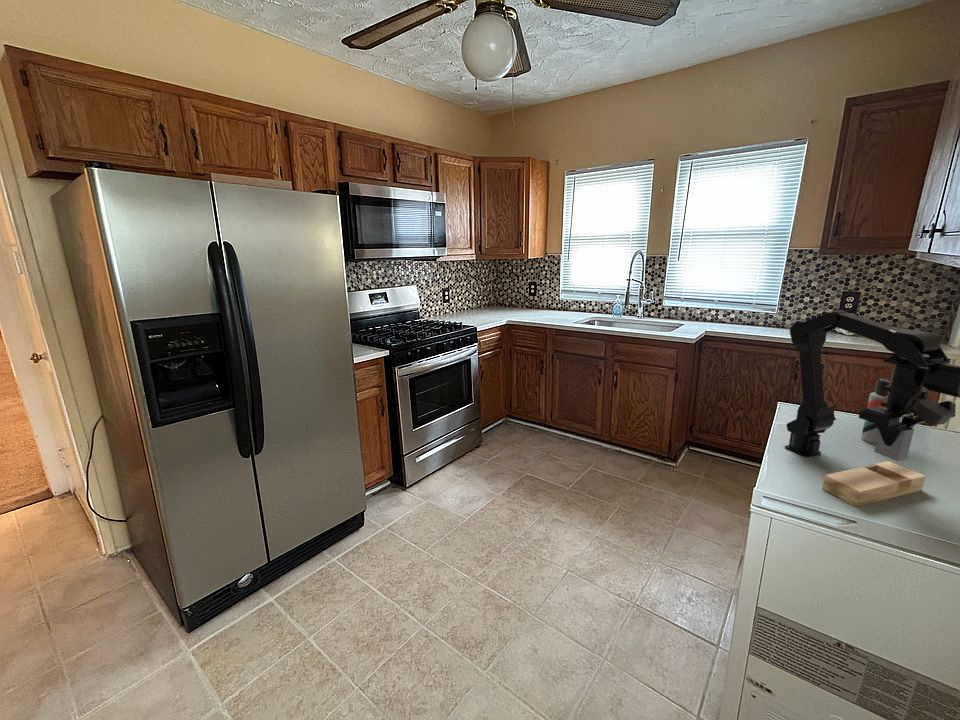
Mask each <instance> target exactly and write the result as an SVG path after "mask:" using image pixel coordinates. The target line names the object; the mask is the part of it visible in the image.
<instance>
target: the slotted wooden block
mask: <svg viewBox="0 0 960 720" xmlns="http://www.w3.org/2000/svg"><path fill="white" fill-rule="evenodd" d="M926 478H927V477H926V475H925V474H921V473H920V472H917V471H914V470H912V469H909V468H906V467H904V466H901V465H899V464H896V463H894V462H891V461H889V460H887V461H882V462H877V463H874V464H869V465H863V466H859V467H855V468H851V469H845V470H842V471H838V472H832V473H828V474H825V475H824V478H823V483H822V486H821V487H822V488H821V489H822V490H823V491H825V492H826V493H829V494H831V495H833V496H835V497H837V498H839V499H841V500H843V501H845V502H847V503H849V504H850V505H852V506H854V507H856V508H857V507H861V506H865V505H869V504H874V503H877V502H882V501H884V500H889V499H893V498H896V497H900V496H906V495H907V494H912V493H913V494H914V493H918V492H920V491H922V490H923V487H924V484H925V480H926Z"/></svg>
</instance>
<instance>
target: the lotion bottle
mask: <svg viewBox="0 0 960 720" xmlns="http://www.w3.org/2000/svg"><path fill="white" fill-rule="evenodd" d="M890 382H891V379H888V378H887V379H886V378H879V379H877V381H876V385H875V390H874V392H870V394H869V398H868V402H867V406H866V408H867V407H873V406H876V407H880V408H883V409H886V407H883V406H880V405H881V402H884V401H886V399H887V395H888V391H885V390H884V388H885V386H889V385H890ZM886 410H888V409H886ZM861 430H862V431H861V436H860V439H861V440H862V441H864V442H867V443H869V444H875V445H876V443H877V438H878V434H879V429H878V427H877V425H876V424H875V423H872V422H869V421H866V420H864V421H863V426H862V429H861Z"/></svg>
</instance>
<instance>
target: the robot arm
mask: <svg viewBox="0 0 960 720" xmlns="http://www.w3.org/2000/svg"><path fill="white" fill-rule="evenodd" d="M837 328H838V329H841V330H843V331H846V332H849V333H852V334H854V335H857V336H860V337H863V338H866V339H868V340H871V341H874V342H877V343H879V344H881V345H882V346H883V347H884V348H885V349H886V350H887V351H889V352H891V353H893V354H892V356H890V357H889V356H888V357H887V358H885V359H883V362H884V363H887V364H892V365H894V366H893V370H892V374H891V379H890V380H891V382H890V385H889V386H885V388H884V390H885V391H888V395H887V399H886V401H884V402H881V405H880V406H883V407H886V409H888V410H886V409H883V408H880V407H876V406H873V407H867V406H866V407H864V408H861V409H860V410H859V413H858V418H859V419H861V420H866V421H869V422H872V423H875V424H876V425H877V427H878V429H879V432H880V434H881V436H882V439H883V441H884V444H885V445H887V446H891V445H892V443H893V441H894V438H895V436H896V433H897V431H898V429H899V428H900V427H903V426H906V427H909V428H913V429H914V427H915V426H917V425H918V424H923V423H926V424H928V425H929V426H933V427H937V426H939V425H945V424H946V423H947V422H948V421H949V420H950V419H951V418H955V417H956V413H957V411H956V403H954V402H952V401H951V400H944V401H941V402H939V401H938V400H932V399H930V398H929V395H930V393H929V391H931V392H934V393H937V394H943V395H947V396H950V397H954V398H955V397H956V398H959V399H960V365H957V364H952V363H951V361H950V359H949V357H948V356H947V354H946V353H945V352H944V350H943V348H942V347H941V341H940V340H939V337H938V335H936V334H935V333H933V332H931V331H930V332H928V331H922V330H919V329H909V328H899V327H893V326H890V325H887V324H884V323H881V322H878V321H875V320H872V319H869V318H866V317H863V316H860V315H856V314H854V313H850V312H848V311H846V310H842V309H840V310H831V311H828V312H826V313H824V314H822V315H819V316H816V317H814V318H810V319H807V320H802V321H796V322H794V323H793V324H792V325H791V326H790V328H789V335H790V340H791V343H792V345H793V346H794V347H795V348H796V350H797V351H798V354H799V355H798V357H799V369H800V371H799V372H800V381H801V384H800V385H801V393H802V394H801V395H802V397H801V398H802V400H801V402H800V405H799V407H798V408H797V410H796V411H797V412H796V418H795V419H794V420H791V421H790V422H788V423H786V429H787V431H788V432H790V438H789V442H788V445H784V448H785V449H787V450H789V451H791V452H794V453H795V454H798V455H801V456H802V457H805V458H806V457H809V456H815V455H820V454H821V453H822V452H821V451H820V446H821V440H820V437H821V434H823V433H824V434H825V432H826V430H828V429H830V428H831V427H832V426H834V421H836V420H837V419H836V417H835V409H836V408H835V406H834V405H830V406H829V405H828V403H827V402H826V400H825V397H824V382H823V369H822V355H821V351H822V348H823V346H824V345H825V342H826V340H827V333H829V332H832V331H834V330H836V329H837ZM924 357H926V358H924ZM924 388H926V389H927V390H925V389H924Z"/></svg>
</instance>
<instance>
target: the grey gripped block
mask: <svg viewBox="0 0 960 720" xmlns="http://www.w3.org/2000/svg"><path fill="white" fill-rule="evenodd" d="M914 431H915V428H914V427H913V428H909V427H906V426H903V427H900V428H899V429H898V431H897V433H896V436H895V438H894V441H893V443H892V445H891V446H887V445H885V444H884V441H883V439H882V436H881V434H880V432H879V434H878V438H877V443H876V444H875V447H874V453H876V454H879V455H881V456H883V457H886V458H889V459H892V460H893V461H897V462H901V461H905V460H907V459H908V454H909V451H910V449H911V448H910V447H911V443H912V439H913V435H914Z"/></svg>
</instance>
